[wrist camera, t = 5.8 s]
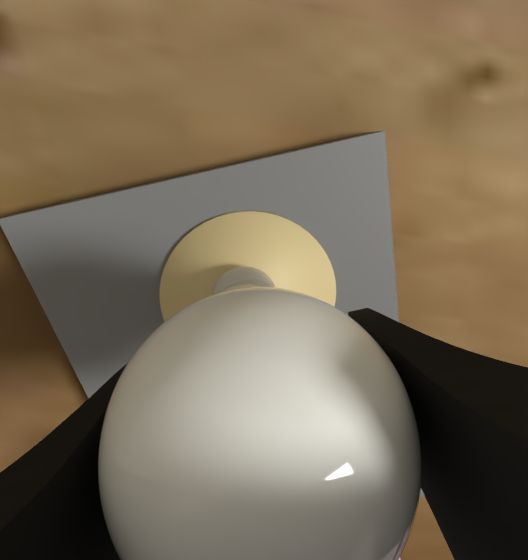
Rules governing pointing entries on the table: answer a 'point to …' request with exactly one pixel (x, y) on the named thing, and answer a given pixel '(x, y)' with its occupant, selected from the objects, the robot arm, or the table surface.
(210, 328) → the lightbulb
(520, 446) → the robot arm
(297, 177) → the lamp base
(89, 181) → the table surface
